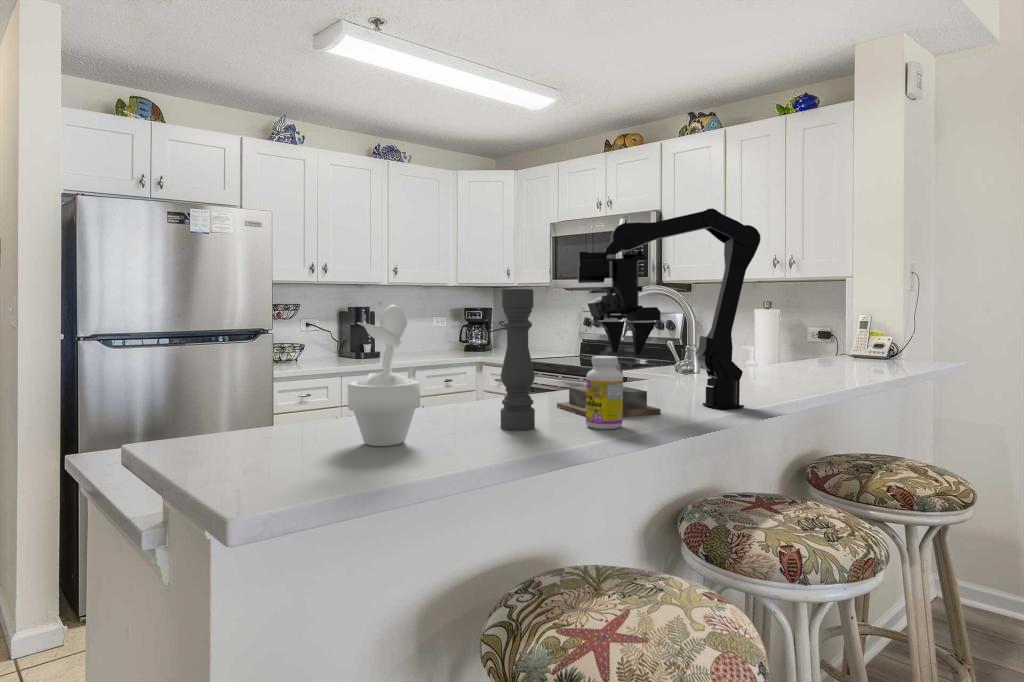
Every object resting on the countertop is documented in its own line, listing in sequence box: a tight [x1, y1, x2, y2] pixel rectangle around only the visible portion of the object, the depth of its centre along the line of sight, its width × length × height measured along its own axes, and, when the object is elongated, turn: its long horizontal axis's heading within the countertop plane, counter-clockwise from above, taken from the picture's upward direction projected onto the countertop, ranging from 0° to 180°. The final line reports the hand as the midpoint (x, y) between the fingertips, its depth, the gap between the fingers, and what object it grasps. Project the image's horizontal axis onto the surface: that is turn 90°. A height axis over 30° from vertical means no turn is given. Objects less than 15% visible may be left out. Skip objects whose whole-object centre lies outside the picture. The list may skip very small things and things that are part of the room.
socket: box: [556, 385, 662, 418], centre depth 139 cm, size 16×16×4 cm
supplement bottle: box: [585, 355, 624, 431], centre depth 119 cm, size 7×7×13 cm
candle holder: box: [500, 288, 536, 432], centre depth 119 cm, size 6×6×25 cm
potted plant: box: [347, 290, 421, 448], centre depth 104 cm, size 13×12×25 cm
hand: (625, 353), depth 144 cm, fingers open, 9 cm apart
